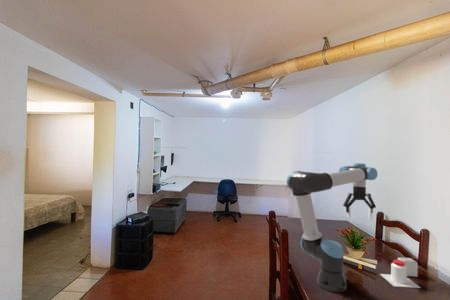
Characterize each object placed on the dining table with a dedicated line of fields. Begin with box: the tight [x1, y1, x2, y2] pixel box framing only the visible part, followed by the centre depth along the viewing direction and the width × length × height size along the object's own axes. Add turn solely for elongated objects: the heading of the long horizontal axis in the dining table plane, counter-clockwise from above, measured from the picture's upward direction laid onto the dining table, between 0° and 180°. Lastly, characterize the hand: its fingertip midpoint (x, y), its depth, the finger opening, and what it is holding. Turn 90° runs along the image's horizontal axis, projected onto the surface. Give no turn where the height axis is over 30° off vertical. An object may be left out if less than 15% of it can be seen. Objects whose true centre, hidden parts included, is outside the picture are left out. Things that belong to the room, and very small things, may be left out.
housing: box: [397, 257, 419, 277], centre depth 151 cm, size 8×6×9 cm
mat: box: [379, 273, 421, 289], centre depth 142 cm, size 14×14×1 cm
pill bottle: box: [390, 259, 408, 284], centre depth 142 cm, size 8×8×11 cm
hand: (359, 217), depth 163 cm, fingers open, 13 cm apart
